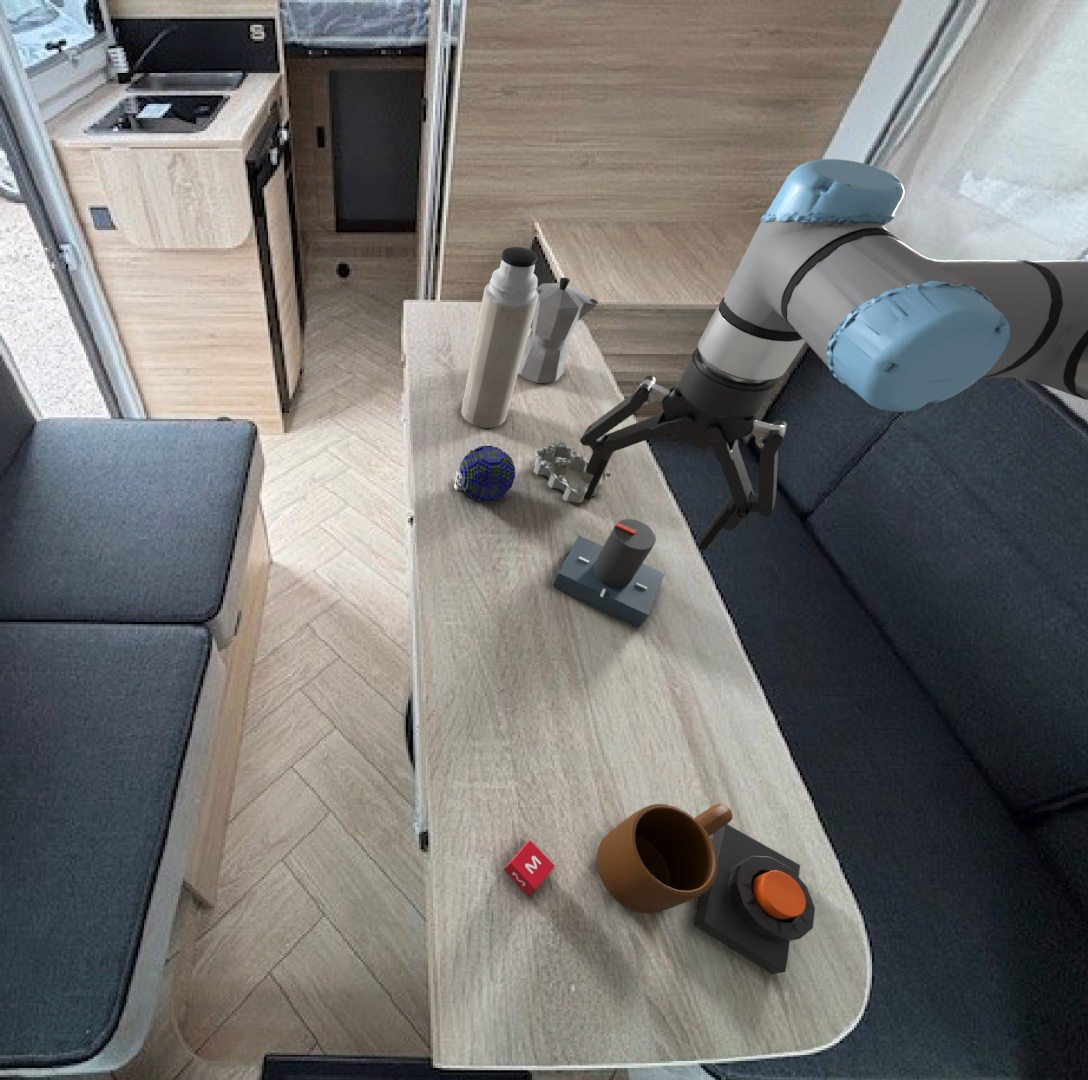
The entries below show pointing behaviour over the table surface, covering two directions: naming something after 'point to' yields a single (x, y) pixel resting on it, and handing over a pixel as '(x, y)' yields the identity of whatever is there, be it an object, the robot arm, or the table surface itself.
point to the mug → (661, 857)
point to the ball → (485, 473)
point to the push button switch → (750, 902)
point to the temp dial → (624, 553)
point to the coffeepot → (552, 330)
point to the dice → (529, 868)
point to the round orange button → (779, 895)
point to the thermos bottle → (501, 338)
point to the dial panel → (619, 602)
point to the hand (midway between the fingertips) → (644, 516)
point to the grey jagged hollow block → (566, 471)
